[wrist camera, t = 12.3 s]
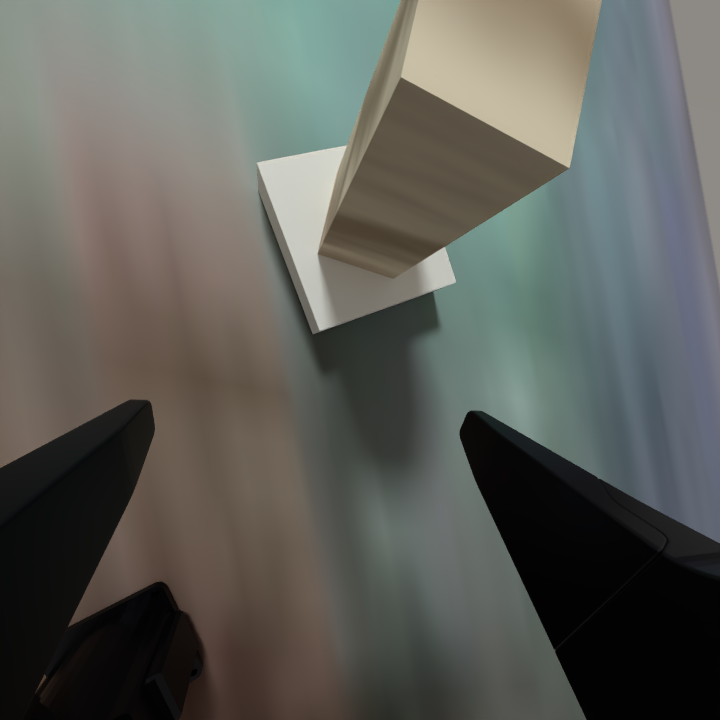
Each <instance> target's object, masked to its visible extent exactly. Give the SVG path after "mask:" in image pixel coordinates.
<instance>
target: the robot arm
mask: <svg viewBox="0 0 720 720" xmlns="http://www.w3.org/2000/svg"><path fill="white" fill-rule="evenodd" d="M154 431H155V424H154V418H153V411H152V405H151V403H150V402H149V401H148V400H128V401H126V402H124V403H122V404H120V405H119V406H117V407H115V408H113V409H111V410H109V411H107V412H105V413H103V414H102V415H100V416H98V417H96V418H94V419H92V420H90V421H88V422H86V423H85V424H83V425H81V426H79V427H77V428H75V429H73V430H71V431H69V432H68V433H66V434H64V435H62V436H60V437H58V438H56V439H54V440H52V441H51V442H49V443H47V444H45V445H43V446H41V447H39V448H37V449H35V450H34V451H32V452H30V453H28V454H26V455H24V456H22V457H20V458H18V459H17V460H15V461H13V462H11V463H9V464H7V465H5V466H3V467H1V468H0V720H179V718H180V715H181V713H182V710H183V706H184V701H185V697H186V693H187V689H188V685H189V683H190V682H192V681H193V680H195V679H196V678H198V677H199V676H200V674H201V671H202V667H203V661H202V658H201V656H200V654H199V652H198V650H197V648H198V642H197V640H196V638H195V636H194V634H193V632H192V629H191V627H190V625H189V623H188V621H187V619H186V617H185V615H184V613H183V611H181V610H178V608H177V606H176V604H175V602H174V600H173V598H172V596H171V594H170V591H169V589H168V587H167V585H166V584H165V583H163V582H156V583H154V584H152V585H150V586H148V587H146V588H144V589H142V590H140V591H138V592H136V593H134V594H132V595H130V596H128V597H126V598H124V599H122V600H120V601H118V602H116V603H114V604H112V605H110V606H109V607H107V608H105V609H103V610H101V611H99V612H97V613H95V614H93V615H91V616H89V617H87V618H85V619H83V620H81V621H79V622H77V623H75V624H73V625H71V626H69V627H68V625H69V623H70V621H71V619H72V617H73V615H74V613H75V611H76V609H77V607H78V605H79V603H80V601H81V599H82V597H83V594H84V592H85V590H86V588H87V586H88V584H89V582H90V580H91V578H92V576H93V574H94V572H95V570H96V568H97V566H98V564H99V562H100V560H101V558H102V556H103V554H104V552H105V550H106V548H107V546H108V544H109V542H110V539H111V537H112V535H113V533H114V531H115V529H116V527H117V525H118V523H119V521H120V519H121V517H122V515H123V513H124V511H125V509H126V507H127V505H128V503H129V501H130V499H131V496H132V494H133V492H134V489H135V487H136V484H137V481H138V479H139V476H140V473H141V470H142V467H143V464H144V461H145V459H146V456H147V453H148V450H149V447H150V444H151V441H152V439H153V436H154ZM460 439H461V442H462V445H463V447H464V450H465V453H466V456H467V459H468V462H469V464H470V467H471V470H472V473H473V475H474V478H475V481H476V483H477V485H478V488H479V490H480V492H481V494H482V496H483V498H484V500H485V503H486V505H487V507H488V509H489V511H490V513H491V515H492V518H493V520H494V522H495V524H496V526H497V528H498V530H499V532H500V535H501V537H502V539H503V541H504V543H505V545H506V547H507V550H508V552H509V554H510V556H511V558H512V560H513V562H514V565H515V567H516V569H517V571H518V573H519V575H520V577H521V580H522V582H523V584H524V586H525V588H526V590H527V592H528V595H529V597H530V599H531V601H532V603H533V605H534V607H535V610H536V612H537V614H538V616H539V618H540V620H541V622H542V625H543V627H544V629H545V631H546V633H547V635H548V637H549V640H550V642H551V644H552V646H553V648H554V649H555V653H556V655H557V657H558V659H559V662H560V664H561V666H562V668H563V670H564V672H565V674H566V677H567V679H568V681H569V683H570V685H571V687H572V689H573V692H574V694H575V696H576V698H577V700H578V702H579V704H580V707H581V709H582V711H583V713H584V715H585V717H586V719H587V720H720V543H718V542H716V541H714V540H712V539H710V538H708V537H706V536H705V535H703V534H701V533H699V532H697V531H695V530H693V529H691V528H689V527H687V526H685V525H684V524H682V523H680V522H678V521H676V520H674V519H672V518H670V517H668V516H666V515H665V514H663V513H661V512H659V511H657V510H655V509H653V508H651V507H650V506H648V505H646V504H644V503H642V502H640V501H638V500H637V499H635V498H633V497H631V496H629V495H628V494H626V493H624V492H622V491H621V490H619V489H617V488H615V487H613V486H612V485H610V484H608V483H606V482H605V481H603V480H601V479H598V478H597V477H596V476H594V475H592V474H591V473H589V472H587V471H585V470H584V469H582V468H580V467H579V466H577V465H575V464H573V463H572V462H570V461H568V460H566V459H565V458H563V457H561V456H559V455H558V454H556V453H554V452H552V451H551V450H549V449H547V448H546V447H544V446H542V445H540V444H539V443H537V442H535V441H533V440H532V439H530V438H528V437H526V436H525V435H523V434H521V433H519V432H518V431H516V430H514V429H512V428H511V427H509V426H507V425H506V424H504V423H502V422H500V421H499V420H497V419H495V418H493V417H492V416H490V415H488V414H486V413H485V412H483V411H469V412H468V413H467V415H466V417H465V419H464V422H463V424H462V426H461V429H460ZM153 591H159V592H160V594H154V593H153ZM193 668H196V669H195V670H192V669H193ZM44 674H45V675H46V679H45V680H44V682H43V683H42V685H41V686H40V687H39V689H38V690H37V688H38V686H39V684H40V682H41V680H42V678H43V676H44ZM36 690H37V692H36ZM35 692H36V693H35Z"/></svg>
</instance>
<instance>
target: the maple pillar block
mask: <svg viewBox="0 0 720 720" xmlns="http://www.w3.org/2000/svg"><path fill="white" fill-rule="evenodd" d="M601 2H602V0H401V1H400V4H399V7H398V9H397V12H396V15H395V17H394V20H393V23H392V25H391V28H390V31H389V34H388V36H387V39H386V42H385V44H384V47H383V50H382V52H381V55H380V58H379V61H378V63H377V66H376V69H375V71H374V74H373V77H372V79H371V82H370V85H369V87H368V90H367V93H366V96H365V98H364V101H363V104H362V106H361V109H360V112H359V114H358V117H357V120H356V123H355V125H354V128H353V131H352V133H351V136H350V139H349V141H348V144H347V147H346V150H345V152H344V155H343V158H342V160H341V163H340V166H339V168H338V171H337V174H336V178H335V182H334V186H333V190H332V194H331V199H330V203H329V207H328V211H327V215H326V220H325V224H324V228H323V232H322V236H321V241H320V245H319V249H318V253H317V254H320V255H323V256H326V257H329V258H332V259H335V260H338V261H341V262H344V263H347V264H350V265H353V266H356V267H359V268H362V269H365V270H368V271H371V272H374V273H377V274H380V275H383V276H386V277H389V278H392V279H394V278H396V277H397V276H399V275H400V274H402V273H404V272H405V271H407V270H408V269H410V268H412V267H413V266H415V265H416V264H418V263H420V262H421V261H423V260H424V259H426V258H428V257H429V256H431V255H432V254H434V253H435V252H437V251H439V250H440V249H442V248H443V247H445V246H447V245H448V244H450V243H451V242H453V241H455V240H456V239H458V238H459V237H461V236H463V235H464V234H466V233H467V232H469V231H470V230H472V229H474V228H475V227H477V226H478V225H480V224H482V223H483V222H485V221H486V220H488V219H490V218H491V217H493V216H494V215H496V214H497V213H499V212H501V211H502V210H504V209H505V208H507V207H509V206H510V205H512V204H513V203H515V202H517V201H518V200H520V199H521V198H523V197H525V196H526V195H528V194H529V193H531V192H532V191H534V190H536V189H537V188H539V187H540V186H542V185H544V184H545V183H547V182H548V181H550V180H552V179H553V178H555V177H556V176H558V175H560V174H561V173H563V172H564V171H566V170H567V169H569V168H570V163H571V158H572V153H573V148H574V142H575V137H576V132H577V127H578V122H579V116H580V111H581V106H582V101H583V95H584V90H585V85H586V80H587V75H588V69H589V64H590V59H591V54H592V49H593V43H594V38H595V33H596V28H597V22H598V17H599V12H600V7H601Z"/></svg>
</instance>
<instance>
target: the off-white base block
mask: <svg viewBox="0 0 720 720" xmlns="http://www.w3.org/2000/svg"><path fill="white" fill-rule="evenodd" d="M346 147H347V146H341V147H336V148H331V149H325V150H320V151H315V152H310V153H304V154H299V155H294V156H289V157H283V158H278V159H273V160H267V161H262V162H257V177H258V191H259V194H260V196H261V199H262V201H263V204H264V207H265V209H266V212H267V215H268V217H269V220H270V223H271V225H272V228H273V231H274V233H275V236H276V239H277V241H278V244H279V246H280V249H281V252H282V254H283V257H284V260H285V262H286V265H287V268H288V270H289V273H290V276H291V278H292V281H293V284H294V286H295V289H296V291H297V294H298V297H299V299H300V302H301V305H302V307H303V310H304V313H305V315H306V318H307V321H308V323H309V326H310V329H311V331H312V334H316V333H318V332H321V331H324V330H327V329H330V328H332V327H335V326H338V325H341V324H344V323H346V322H349V321H352V320H355V319H358V318H360V317H363V316H366V315H369V314H372V313H374V312H377V311H380V310H383V309H386V308H388V307H391V306H394V305H397V304H400V303H402V302H405V301H408V300H411V299H414V298H416V297H419V296H422V295H425V294H428V293H430V292H433V291H436V290H438V289H441V288H443V287H446V286H448V285H451V284H453V283H456V280H455V277H454V274H453V271H452V268H451V265H450V262H449V258H448V255H447V252H446V249H445V247H443V248H442V249H440V250H439V251H437V252H435V253H434V254H432V255H431V256H429V257H428V258H426V259H424V260H423V261H421V262H420V263H418V264H416V265H415V266H413V267H412V268H410V269H408V270H407V271H405V272H404V273H402V274H400V275H399V276H397V277H396V278H394V279H392V278H389V277H386V276H383V275H380V274H377V273H374V272H371V271H368V270H365V269H362V268H359V267H356V266H353V265H350V264H347V263H344V262H341V261H338V260H335V259H332V258H329V257H326V256H323V255H320V254H317V253H318V249H319V245H320V241H321V236H322V232H323V228H324V224H325V220H326V215H327V211H328V207H329V203H330V199H331V194H332V190H333V186H334V182H335V178H336V174H337V171H338V168H339V166H340V163H341V160H342V158H343V155H344V152H345V150H346Z"/></svg>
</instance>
